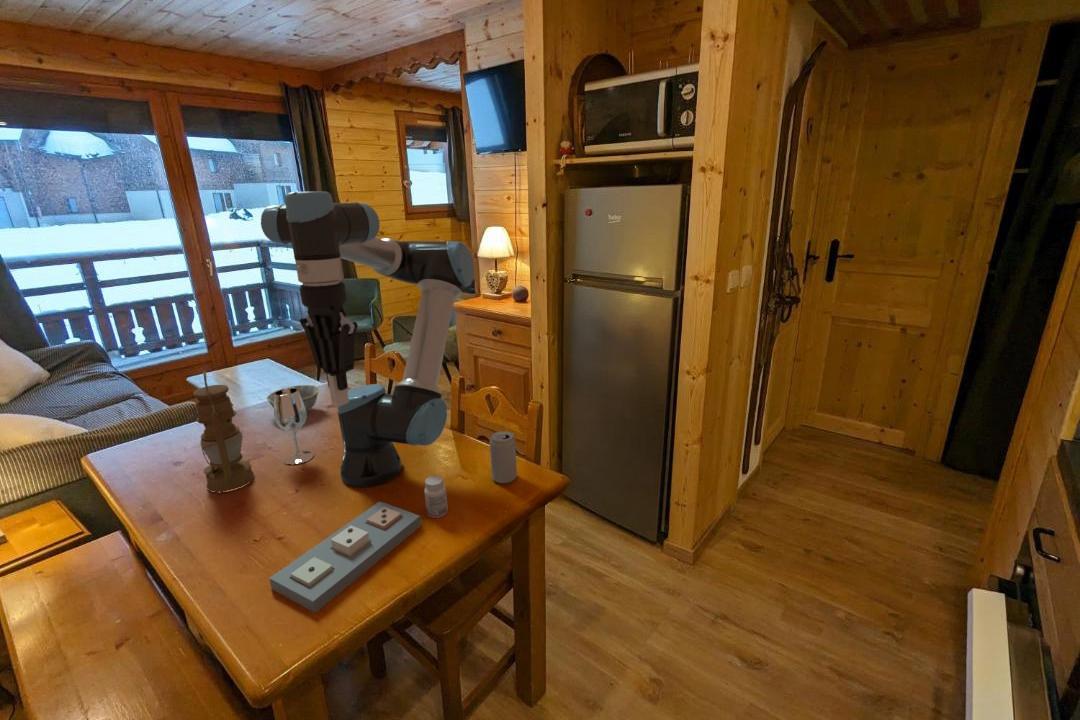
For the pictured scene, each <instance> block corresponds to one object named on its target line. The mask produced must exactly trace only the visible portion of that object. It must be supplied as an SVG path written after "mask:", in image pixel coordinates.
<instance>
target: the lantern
mask: <svg viewBox="0 0 1080 720" xmlns="http://www.w3.org/2000/svg"><path fill="white" fill-rule="evenodd" d="M202 373H203V374H202V375H203V379H204V386H203V387H200V388H197V389H195V390H194V391H193V392H192V393H193V397H194V398H196V399H197V401H196V409H197V410H196V411H195V413H196V414H197V415H198V417H197V418H196V423H198V424H201V425H203V426H204V430H203V433H202V434H200V447H201V452H202V454H203V456H204V459H205V460H206V463H207V464H208V465H207V466H206V467H205V468H204V469H203V474H205V478H206V489H207V488H208V489H209V490H211V491H215V492H219V491H220V492H223V491H227V490H231V489H235V488H238V487H241V486H243V485H245V484H247V483H248V482H250V481H251V480H252V479H253V480H254V478H255V473H254V471H253V470H252V466H251V462H249V461H247V460H243V457H244V456H243V453H241V452H242V445H243V434H242V433H243V432H241V430H240V427H239V426H237V425H236V424H234V423H233V418H234V417H235V416H236V415H237V410H234V404H233V403H232V402H231V398H230V396H229V395H228V394H227V393H228V392H229V390H230V389H229V386H228V385H227V384H212V385H208V383H207V371H205V370H203V372H202ZM207 458H208V459H209V461H208V460H207ZM253 477H254V478H253ZM208 489H207V490H208Z"/></svg>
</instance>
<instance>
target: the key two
mask: <svg viewBox="0 0 1080 720" xmlns="http://www.w3.org/2000/svg"><path fill="white" fill-rule="evenodd" d="M369 542H370V540H369V533H368V532H366V531H364V530H361V529H359V528H356V527H354V526H352V525H351V526H349V527H348V528H346V529H345V530H343V531H342V532H341V533H339V534H338V535H336V536H335V537H333V538H332V539H331V544H332V550H335V551H337V552H339V553H341V554H343V555H346V556H348V557H351V556H352V555H353V554H355V553H356V552H357V551H359V550H360V549H361V548H362V547H364V546H365V545H366V544H368V543H369Z"/></svg>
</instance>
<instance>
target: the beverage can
mask: <svg viewBox="0 0 1080 720" xmlns="http://www.w3.org/2000/svg"><path fill="white" fill-rule="evenodd" d="M514 436H515V435H514V433H513V432H510V431H505V430H504V431H496V432H494V433H492V434H491V436H490V439H489V451H490V452H489V453H490V454H489V456H490V470H491V479H492V480H493V481H494V482H496V483H498V484H501V485H502V484H503V485H504V484H510V483H512V482H514V480H515V479H516V478H517V476H518V469H517V447H516V438H515V437H514Z"/></svg>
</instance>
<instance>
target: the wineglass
mask: <svg viewBox="0 0 1080 720" xmlns="http://www.w3.org/2000/svg"><path fill="white" fill-rule="evenodd" d="M285 388H286V389H283V388H281V389H282V390H280V389H278V390H279V391H277V390H276V391H277V392H275V391H274V392H275V397H274V408H273V415H274V422H275V424H276V426H277V427H278V428H279V429H281V430H282V431H286V432H290V433H291V435H292V437H293V442H294V446H295V452H292V453H290V454H288V455H287V456H285V458H284V459H283V462H285V463H284V464H286V465H288V464H291V466H294V464H297V465H301V463H302V464H304V462H305V463H307V462H308V461H309V462H310V461H311V460H312V459H313V458H314V453H313V452H312V451H310V450H300V449H299V444H298V438H297V437H298V436H297V431H298V430H299V429H301V428H302V427H303V426H304V425H305V424H306V421H307V418H308V415H307V414H308V413H306V409H305V406H304V403H303V401H302V398H301V396H300V394H299V392H298V390H297V389H296V388H287V387H285Z"/></svg>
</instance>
